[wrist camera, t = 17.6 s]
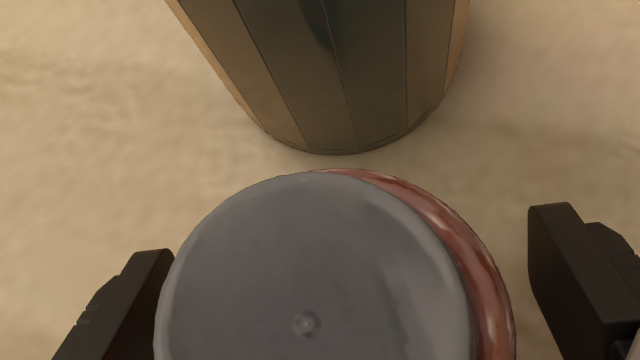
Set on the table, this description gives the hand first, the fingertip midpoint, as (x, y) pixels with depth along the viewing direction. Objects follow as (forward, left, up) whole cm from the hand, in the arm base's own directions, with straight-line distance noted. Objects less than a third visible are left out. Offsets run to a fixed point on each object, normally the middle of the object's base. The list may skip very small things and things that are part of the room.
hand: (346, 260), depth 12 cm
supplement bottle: (+1, -1, -6) cm, 6 cm away
